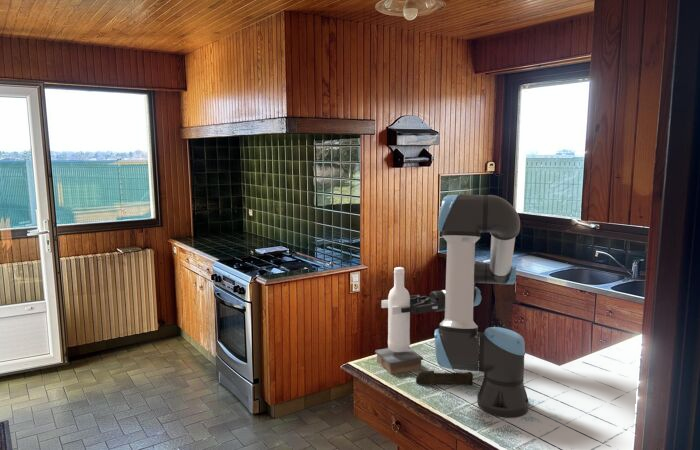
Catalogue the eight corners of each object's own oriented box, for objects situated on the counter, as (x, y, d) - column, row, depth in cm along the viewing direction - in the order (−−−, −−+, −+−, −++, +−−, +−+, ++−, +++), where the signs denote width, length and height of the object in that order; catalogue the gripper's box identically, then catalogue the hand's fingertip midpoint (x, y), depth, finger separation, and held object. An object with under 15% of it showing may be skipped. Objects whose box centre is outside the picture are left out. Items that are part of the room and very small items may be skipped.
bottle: (383, 348, 185) (383, 267, 181) (397, 342, 190) (398, 264, 186) (399, 354, 179) (400, 271, 175) (414, 348, 185) (414, 268, 181)
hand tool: (471, 381, 173) (471, 368, 172) (473, 386, 169) (473, 373, 168) (415, 381, 173) (415, 368, 173) (416, 386, 169) (416, 373, 169)
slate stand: (422, 369, 182) (423, 357, 181) (390, 375, 177) (390, 363, 177) (406, 356, 194) (406, 345, 193) (375, 361, 189) (375, 350, 189)
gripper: (457, 318, 180) (399, 326, 172) (428, 302, 199) (375, 309, 191) (457, 297, 179) (399, 305, 171) (428, 284, 198) (375, 290, 190)
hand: (386, 307), depth 181 cm, fingers closed on bottle, 8 cm apart
